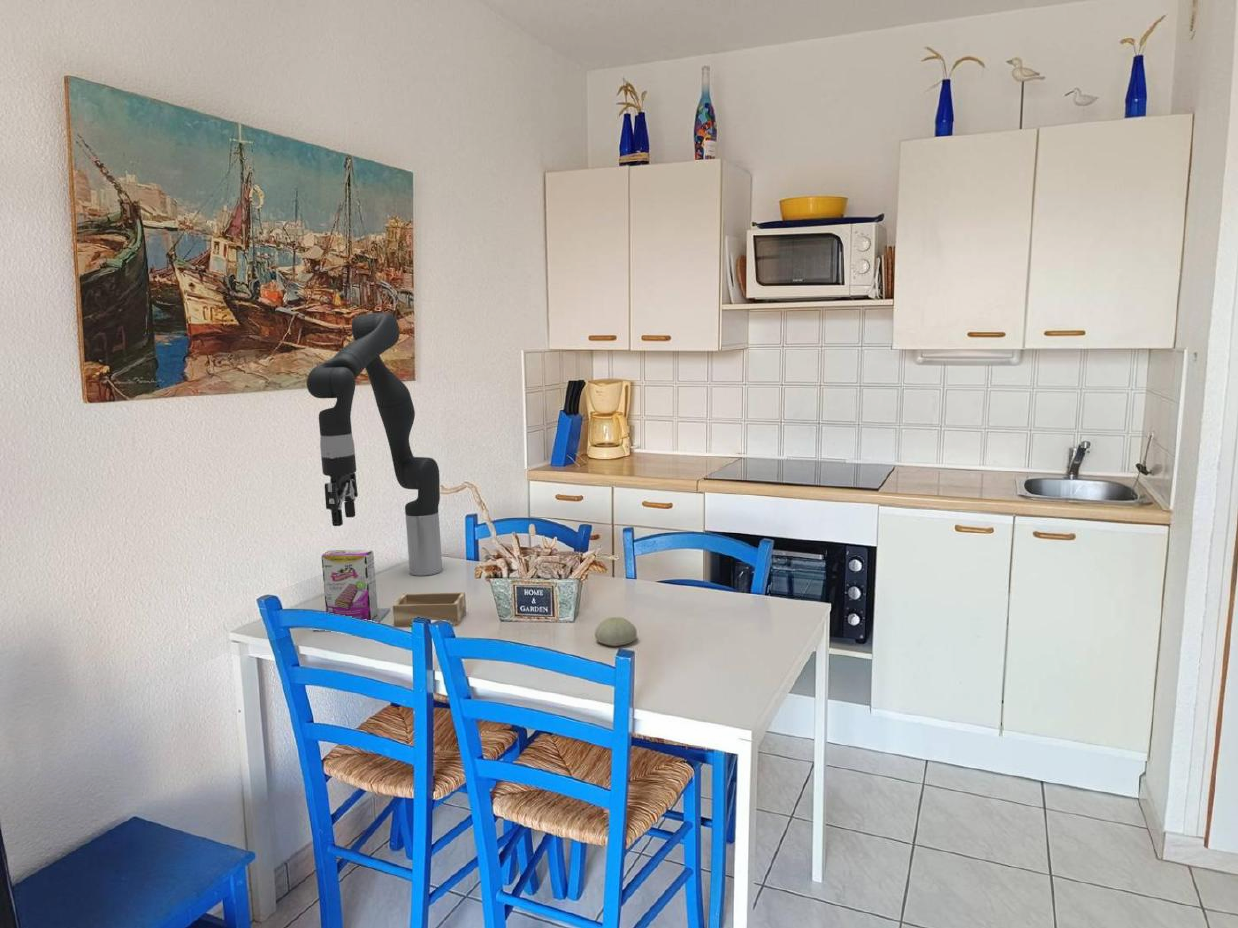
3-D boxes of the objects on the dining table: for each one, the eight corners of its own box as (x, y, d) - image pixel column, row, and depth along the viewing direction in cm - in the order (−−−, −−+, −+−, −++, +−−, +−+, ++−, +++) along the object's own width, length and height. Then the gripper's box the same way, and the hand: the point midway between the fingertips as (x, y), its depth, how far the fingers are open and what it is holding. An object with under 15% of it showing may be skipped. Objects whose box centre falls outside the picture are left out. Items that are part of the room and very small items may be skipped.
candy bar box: (325, 621, 204) (319, 555, 202) (334, 614, 209) (328, 549, 206) (371, 621, 203) (365, 554, 201) (379, 614, 208) (373, 549, 206)
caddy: (405, 613, 210) (403, 593, 209) (466, 612, 210) (464, 592, 209) (394, 626, 201) (392, 605, 200) (457, 625, 201) (456, 604, 200)
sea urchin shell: (636, 623, 193) (636, 607, 186) (637, 656, 188) (636, 641, 182) (596, 623, 193) (594, 608, 186) (595, 656, 188) (593, 641, 182)
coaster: (334, 611, 213) (334, 609, 213) (390, 610, 213) (390, 608, 213) (312, 631, 200) (312, 628, 200) (372, 630, 199) (371, 627, 199)
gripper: (333, 449, 207) (339, 515, 209) (310, 459, 193) (317, 529, 195) (363, 448, 206) (369, 514, 209) (343, 458, 192) (349, 528, 195)
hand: (344, 521), depth 202 cm, fingers open, 8 cm apart
